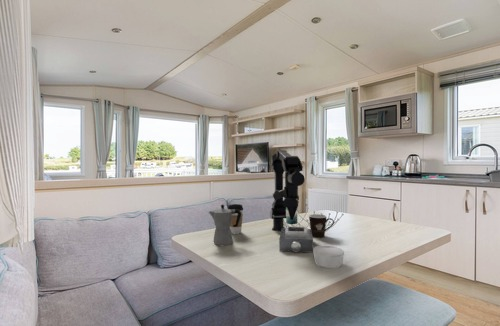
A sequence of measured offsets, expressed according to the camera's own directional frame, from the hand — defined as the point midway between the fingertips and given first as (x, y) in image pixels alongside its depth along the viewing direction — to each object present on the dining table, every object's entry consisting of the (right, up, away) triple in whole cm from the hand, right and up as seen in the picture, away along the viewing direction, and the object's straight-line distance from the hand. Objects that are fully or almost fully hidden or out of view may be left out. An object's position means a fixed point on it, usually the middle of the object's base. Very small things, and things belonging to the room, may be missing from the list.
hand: (291, 218), depth 122 cm
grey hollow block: (+2, -12, -1) cm, 12 cm away
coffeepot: (-31, -13, +6) cm, 34 cm away
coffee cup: (-27, -12, +22) cm, 37 cm away
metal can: (0, -2, 0) cm, 2 cm away
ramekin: (+10, -13, -21) cm, 27 cm away
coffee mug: (+17, -12, +13) cm, 24 cm away
